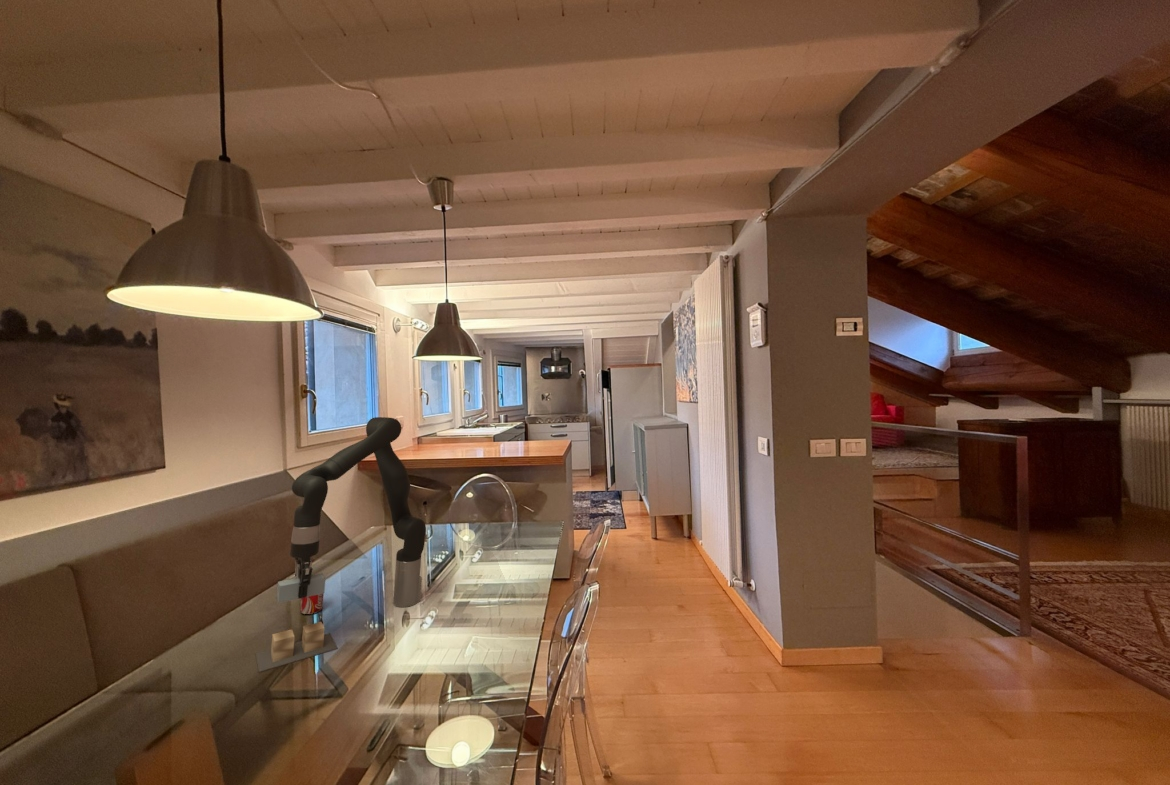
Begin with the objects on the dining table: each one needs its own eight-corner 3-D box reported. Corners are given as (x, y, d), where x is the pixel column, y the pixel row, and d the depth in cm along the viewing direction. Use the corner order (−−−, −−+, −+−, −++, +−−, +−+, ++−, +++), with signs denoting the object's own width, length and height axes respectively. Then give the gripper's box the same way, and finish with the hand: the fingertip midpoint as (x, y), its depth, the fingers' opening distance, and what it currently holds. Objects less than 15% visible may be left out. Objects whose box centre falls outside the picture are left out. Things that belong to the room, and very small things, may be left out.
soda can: (311, 617, 154) (313, 583, 154) (294, 614, 155) (297, 581, 155) (326, 608, 161) (329, 576, 161) (310, 605, 162) (313, 573, 162)
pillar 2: (319, 640, 139) (321, 621, 140) (323, 647, 136) (324, 628, 136) (301, 645, 136) (303, 626, 136) (304, 652, 132) (306, 633, 132)
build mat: (330, 633, 144) (330, 632, 144) (337, 648, 136) (337, 647, 136) (255, 654, 131) (255, 653, 131) (259, 672, 122) (259, 671, 122)
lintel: (321, 588, 139) (322, 573, 139) (324, 593, 136) (325, 577, 136) (276, 598, 131) (277, 581, 131) (278, 603, 128) (279, 586, 128)
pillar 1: (290, 648, 134) (291, 629, 134) (293, 656, 130) (294, 636, 130) (270, 654, 131) (272, 634, 131) (272, 662, 127) (274, 641, 127)
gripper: (324, 543, 132) (319, 600, 131) (315, 531, 142) (310, 584, 142) (295, 547, 127) (290, 606, 126) (287, 535, 137) (283, 589, 137)
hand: (301, 594), depth 134 cm, fingers closed on lintel, 4 cm apart
